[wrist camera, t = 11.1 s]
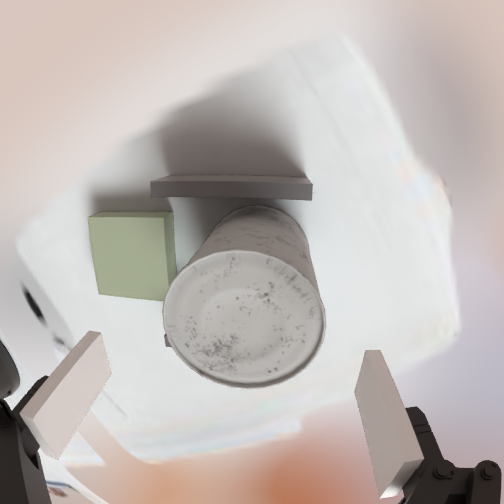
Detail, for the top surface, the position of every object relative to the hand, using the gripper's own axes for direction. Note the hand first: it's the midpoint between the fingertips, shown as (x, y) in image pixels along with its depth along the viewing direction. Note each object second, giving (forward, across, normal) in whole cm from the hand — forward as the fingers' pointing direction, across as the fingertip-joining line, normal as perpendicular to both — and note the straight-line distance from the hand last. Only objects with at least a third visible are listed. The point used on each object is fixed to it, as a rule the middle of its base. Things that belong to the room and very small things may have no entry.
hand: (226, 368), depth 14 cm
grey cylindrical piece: (+16, +1, 0) cm, 16 cm away
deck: (+16, -11, 0) cm, 20 cm away
